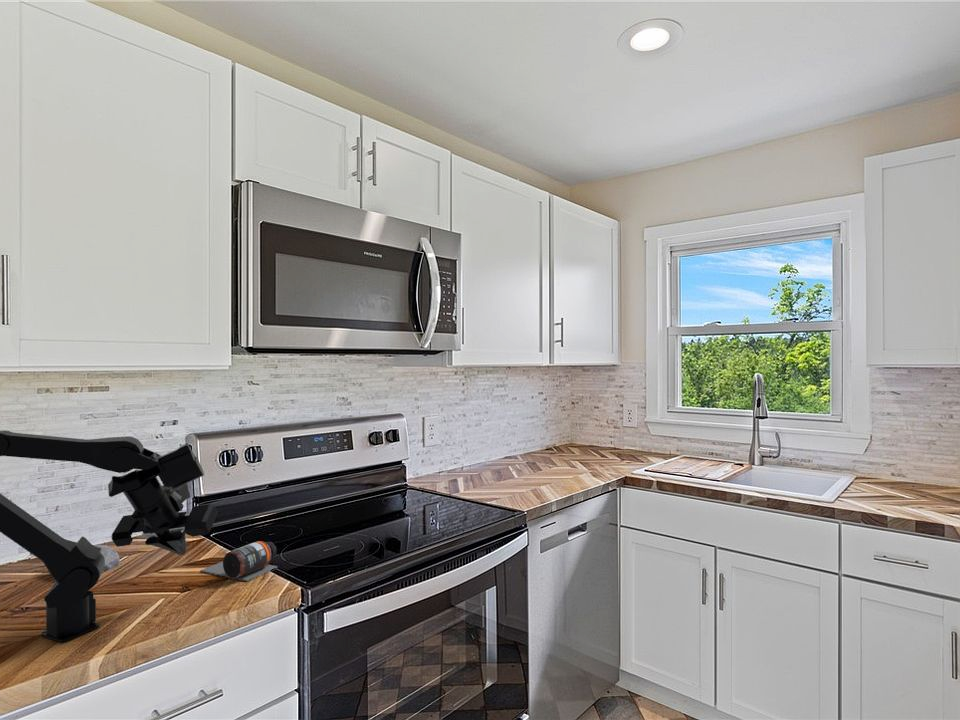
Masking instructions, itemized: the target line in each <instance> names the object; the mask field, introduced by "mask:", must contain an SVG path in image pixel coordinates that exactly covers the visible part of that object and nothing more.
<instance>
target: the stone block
mask: <svg viewBox="0 0 960 720" xmlns="http://www.w3.org/2000/svg"><path fill="white" fill-rule="evenodd" d="M94 546H95V547H99V548H101V551H100V553H101V554H102V555H103V556H104V558H105V567H104V570H103V572H105V571H106V572H107V571H110V570H112V569H115V568H116V566H117V567H119V566H120V563H121V559H120V555H119V553H118V552H117V551H116V550H114V549H113V548H112V547H109V545H108V546H107V545H103V544H100V545H99V544H97V545H94ZM118 565H119V566H118ZM49 575H50V576H51V574H50V573H49Z"/></svg>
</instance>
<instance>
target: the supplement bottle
mask: <svg viewBox="0 0 960 720" xmlns="http://www.w3.org/2000/svg"><path fill="white" fill-rule="evenodd" d="M276 555H277V547H276V545H275V544H274V543H273V542H271V541H261V540H258V541H255V542H252V543H249V544H246V545H244V546H241V547H239V548H236V549H233V550H230V551H228V552H226V553H225V555H224V557H223V559H222V561H223V568H224V571H225V573H226V574H227V575H228V576H229V577H230V578H229V579H231V578H234V579H233V580H236V579H235V578H238V577H241V576H243V575H246V574H248V573H251V572H253V571H255V570H257V569H260V568H262V567H264V566H266V565H267V564H268V565H269V564H270V561H271V559H274V558H275V557H276Z"/></svg>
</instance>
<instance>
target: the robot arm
mask: <svg viewBox="0 0 960 720" xmlns="http://www.w3.org/2000/svg"><path fill="white" fill-rule="evenodd" d="M0 457H12V458H23V459H36V460H37V459H38V460H49V461H61V462H62V461H63V462H74V463H75V462H76V463H82V464H85V465H89V466H90V467H94V468H98V469H101V470H105V471H108V472H109V471H110V472H114V473H118V474H123V475H120V476H119V475H117V476H116V475H112V476H111V480H110V481H109V483H108V484H107V488H108V490H107V491H108V496H109V497H110V498H112V497H115V496H117V495H119V494H122V493H123V494H124V496H125V497H126V499H127V500H128V502H129V503H130V505H131V506H132V508H133V510H134V511H133V512H132V514H127V515H123V516H122V517H121V519H120V520H119V522H118V524H117V525H116V526H115V528H114V530H113V532H112V533H111V541H112V542H113V543H114V545H115V547H116V548H119V547H125V546H131V543H132V542H133V540H134V538H133V537H132V535H133V534H135V533H141V536H142V537H144V538H145V542H144V543H145V545H147V546H152V547H156V548H159V549H163V550H166V551H168V552H171V553H174V554H176V555H178V556H184V555H185V554H186V552H187V543H186V542H187V541H186V540H187V539H186V538H187V537H186V535H188V536H189V537H192V538H193V537H200V536H206V535H207V534H209V533H210V532H211V530H212V528H213V526H214V523H215V522H216V519H217V517H218V515H219V511H218V509H217V507H216V505H215V504H213V503H207V504H200V505H194V506H192V507H191V510H190V512H189V514H188V512H187V511H183V508H184V507H185V506H184V504H183V503H184V502H185V501H186V500H187V499H190V497H191V493H190V491H189V486H188V484H189V483H191V482H194V481H195V480H197V479H199V478H201V477H204V476H205V473H204V470H203V467H202V465H201V463H200V461H199V458H198V457H197V456H196V455H195V453H194V451H193V450H192V449H191V447H190V444H188V443H186V444H183V445H180V447H178V448H176V449H174V450H172V451H170V452H168V453H165V454H164V455H161V454H159V453H157V452H155V451H153V450H150V449H148V448H145V447H144V446H143V443H142V442H141V441H140V440H139V438H135V437H133V436H115V437H113V436H111V437H101V438H92V439H90V438H88V439H85V438H74V437H63V436H54V435H43V434H32V433H22V432H13V431H10V430H6V429H3V430H0ZM128 472H129V473H128ZM124 473H126V474H124ZM158 478H159V479H158ZM159 480H160V481H161V483H160V481H159ZM0 533H1V534H2V535H4V536H6V538H9V540H11V541H12V542H13V543H16V544H17V545H18V546H20V547H21V548H23V549H24V550H26V551H27V552H28V553H30V554H31V555H32V556H34V557H36V558H37V559H39V560H40V561H41V562H42V564H43V565H44V566H45V567H46V570H47V571H48V573H49V575H50V574H51V575H50V576H51V578H52V579H53V580H55V581H54V583H53V584H52V586H51V587H50V589H49V590H48V591H47V593H46V594H45V596H44V597H43V600H44V602H45V609H46V610H45V615H46V616H45V617H46V618H45V621H46V622H45V624H46V625H45V628H46V630H43V631H41V632H40V637H43V638H47V639H50V640H53V641H55V642H59V643H65V642H68V641H70V640H72V639H75V638H78V637H80V636H83V635H84V634H86V633H90V632H91V631H94V630H96V629H98V628H100V623H96V621H97V608H96V607H97V600H96V598H94V597H95V596H94V591H92V590H91V589H93V588H94V587H95V586H96V584H97V583H98V582H99V580H100V577H102V576H101V575H102V574H103V572H104V571H103V570H104V567H105V558H104V556H103V555H102V554H101V553H100V551H101V548H99V547H95V545H94V544H92V543H91V541H89V540H88V539H87V537H85V536H81V537H80V538H79V540H78V541H72V540H68V539H65V538H64V537H62V536H60V535H59V534H58V533H56V532H55V531H53V530H52V529H51V528H49V526H46V525H45V524H44V523H43V522H41V521H39V520H38V519H37V518H36V517H34V516H33V515H31V514H30V513H28V512H27V511H26V510H24V509H23V508H21V507H20V506H19V505H17V504H16V503H14V502H13V501H12V500H10V499H9V498H7V497H6V496H4V495H3V494H2V493H0Z"/></svg>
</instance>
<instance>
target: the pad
mask: <svg viewBox="0 0 960 720" xmlns="http://www.w3.org/2000/svg"><path fill="white" fill-rule="evenodd" d="M274 568H277V569H278V566H277V565H272V564H269V563H268V564H267V565H266V566H264V567H262V568H260V569H257V570H255V571H253V572H251V573H248V574H246V575H243V576H241V577H238V578H235V579H234V580H236V579H238V580H237V581H241V580H244V581H243V582H245V581H248V582H250V581H249V580H251V579H253V578H255V579H257V578H258V577H257V576H259V575H261V574H263V573H266V572H268V573H270V572H272V571H273V570H272V569H274ZM271 570H272V571H271ZM274 570H275V569H274ZM269 571H270V572H269ZM203 572H206V573H205V574H208V573H211V574H210V575H212V574H216V575H215V576H217V575H221V576H220V577H222V576H226V577H229V576H228V575H227V574H226V573H225V571H224V568H223V560H222V561H220V562H218V563H215V564H212V565H211V566H207V567H205V568H203V569H201V570H200V573H203ZM266 574H267V573H266ZM261 576H262V575H261ZM226 577H225V578H226ZM256 577H257V578H256ZM259 577H260V576H259ZM228 579H231V578H230V577H229V578H228ZM253 580H254V579H253ZM251 581H252V580H251Z"/></svg>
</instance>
